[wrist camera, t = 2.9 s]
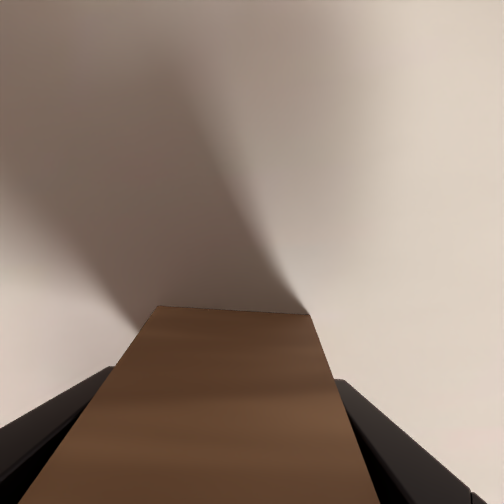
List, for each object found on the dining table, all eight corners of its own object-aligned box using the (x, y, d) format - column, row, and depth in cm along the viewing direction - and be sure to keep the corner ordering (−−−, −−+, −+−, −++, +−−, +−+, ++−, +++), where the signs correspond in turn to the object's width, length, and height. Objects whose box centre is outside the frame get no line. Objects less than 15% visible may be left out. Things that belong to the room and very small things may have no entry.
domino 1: (157, 306, 10) (-154, 746, 2) (309, 315, 10) (482, 778, 2) (158, 354, 11) (-99, 850, 3) (304, 362, 11) (433, 878, 3)
